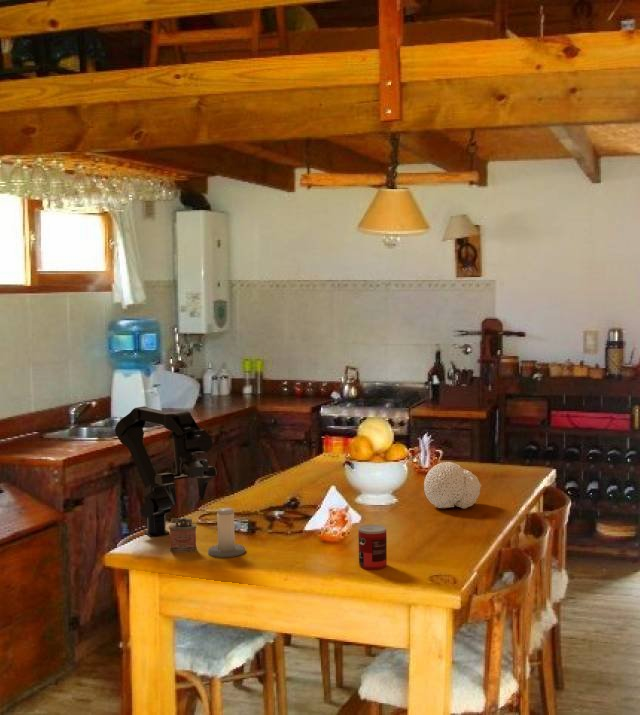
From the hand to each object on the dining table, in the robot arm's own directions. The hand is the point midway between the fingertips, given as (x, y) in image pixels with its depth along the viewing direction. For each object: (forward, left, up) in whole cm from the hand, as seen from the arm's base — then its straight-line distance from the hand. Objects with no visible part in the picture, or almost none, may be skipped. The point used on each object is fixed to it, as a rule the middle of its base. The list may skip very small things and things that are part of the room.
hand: (188, 502), depth 301 cm
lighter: (+7, -5, -13) cm, 15 cm away
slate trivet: (+16, +5, -12) cm, 21 cm away
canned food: (+51, +34, -13) cm, 63 cm away
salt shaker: (+16, +5, -11) cm, 20 cm away
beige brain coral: (+11, +94, -13) cm, 95 cm away
